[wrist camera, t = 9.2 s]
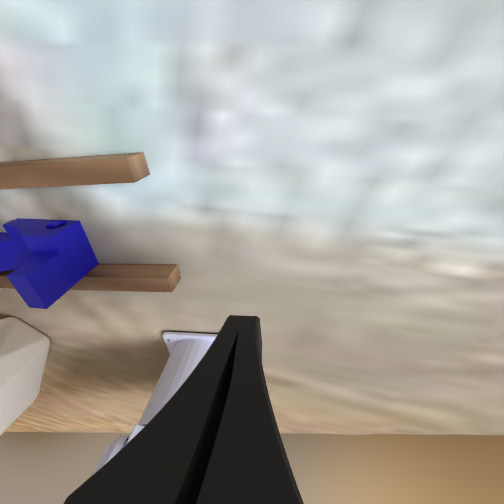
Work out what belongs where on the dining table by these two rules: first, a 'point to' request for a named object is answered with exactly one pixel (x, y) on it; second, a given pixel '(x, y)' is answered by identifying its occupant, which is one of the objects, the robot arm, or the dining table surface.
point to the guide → (90, 173)
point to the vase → (20, 368)
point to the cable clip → (45, 258)
